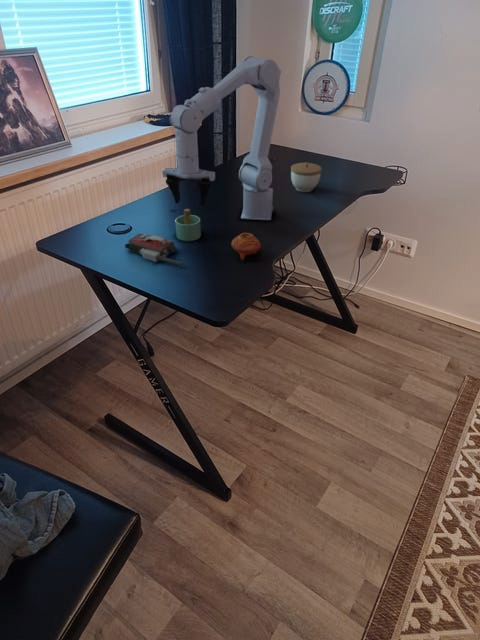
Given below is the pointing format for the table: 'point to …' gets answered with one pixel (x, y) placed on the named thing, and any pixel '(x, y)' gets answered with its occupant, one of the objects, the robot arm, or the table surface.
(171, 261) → the red grey blocky piece
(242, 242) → the pot
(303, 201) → the table surface
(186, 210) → the rubber stamp
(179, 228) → the bucket
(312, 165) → the trinket box
